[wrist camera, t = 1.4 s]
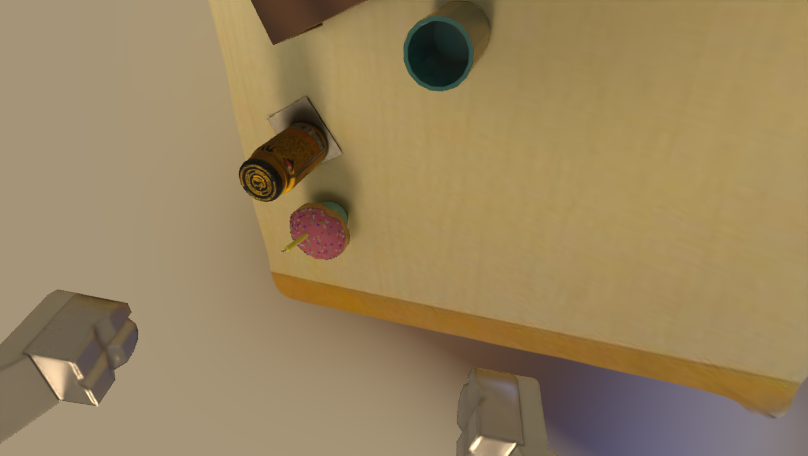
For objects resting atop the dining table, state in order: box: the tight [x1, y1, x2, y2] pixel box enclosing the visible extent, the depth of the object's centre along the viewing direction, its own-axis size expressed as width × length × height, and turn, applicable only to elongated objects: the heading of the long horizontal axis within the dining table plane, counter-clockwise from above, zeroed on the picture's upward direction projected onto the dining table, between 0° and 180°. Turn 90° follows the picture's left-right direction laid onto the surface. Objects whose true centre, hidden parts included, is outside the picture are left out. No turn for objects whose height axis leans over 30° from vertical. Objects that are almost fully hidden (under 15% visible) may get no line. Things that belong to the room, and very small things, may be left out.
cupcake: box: [281, 201, 350, 260], centre depth 60 cm, size 9×8×12 cm
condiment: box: [239, 96, 342, 202], centre depth 55 cm, size 7×8×12 cm
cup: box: [404, 1, 490, 91], centre depth 43 cm, size 6×6×10 cm
